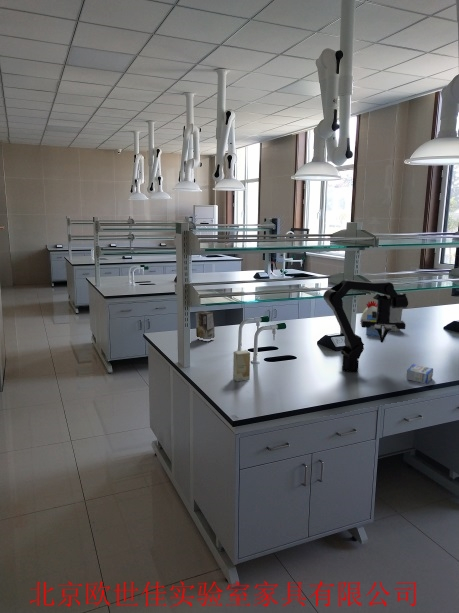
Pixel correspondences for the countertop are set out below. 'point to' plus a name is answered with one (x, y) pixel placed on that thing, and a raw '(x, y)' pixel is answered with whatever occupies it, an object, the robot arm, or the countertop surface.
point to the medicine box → (419, 373)
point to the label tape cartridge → (372, 327)
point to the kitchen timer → (369, 310)
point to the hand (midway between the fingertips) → (381, 342)
